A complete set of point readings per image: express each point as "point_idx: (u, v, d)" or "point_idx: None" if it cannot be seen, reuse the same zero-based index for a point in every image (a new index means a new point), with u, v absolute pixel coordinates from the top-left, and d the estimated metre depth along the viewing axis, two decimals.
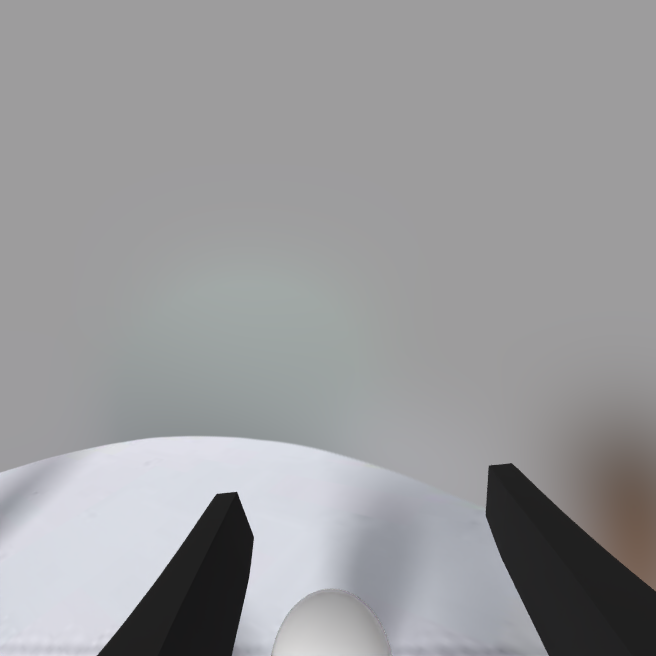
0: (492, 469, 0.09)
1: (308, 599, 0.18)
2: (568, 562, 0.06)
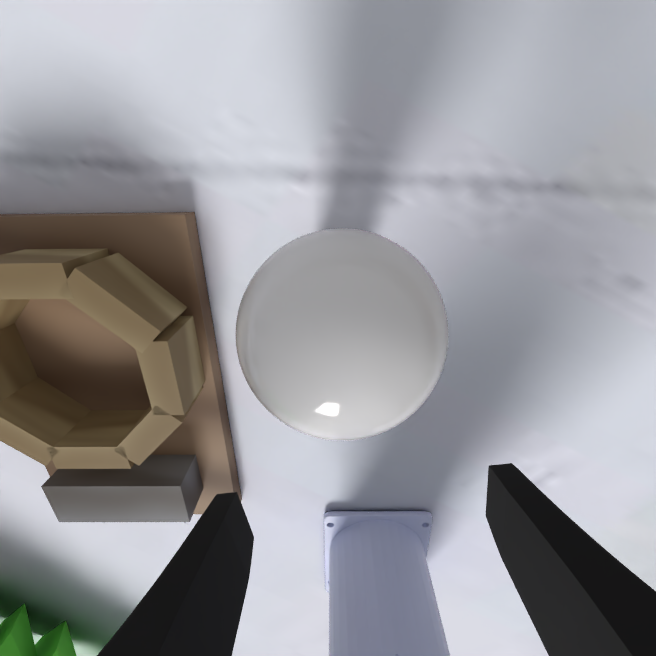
0: (492, 469, 0.09)
1: (303, 313, 0.08)
2: (568, 562, 0.06)
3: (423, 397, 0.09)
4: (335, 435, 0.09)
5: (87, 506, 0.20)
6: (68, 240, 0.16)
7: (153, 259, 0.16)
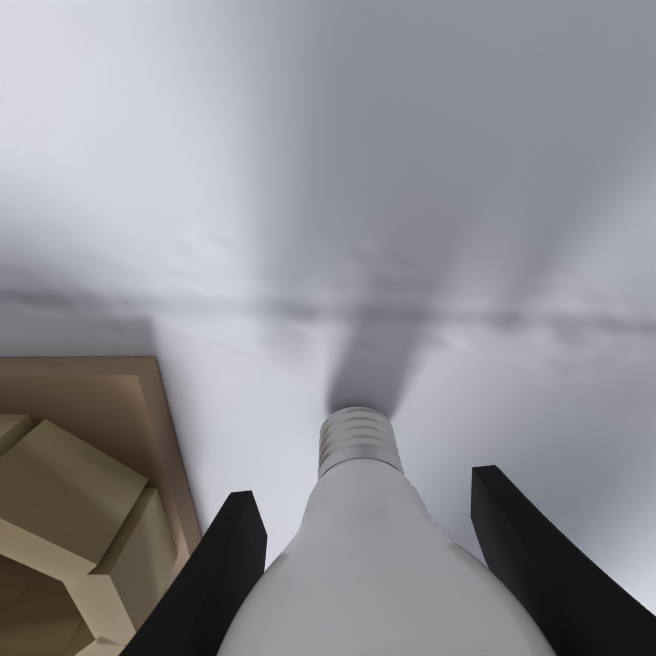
0: (475, 471, 0.09)
1: None
2: (544, 564, 0.06)
3: None
4: None
5: None
6: None
7: (96, 426, 0.11)
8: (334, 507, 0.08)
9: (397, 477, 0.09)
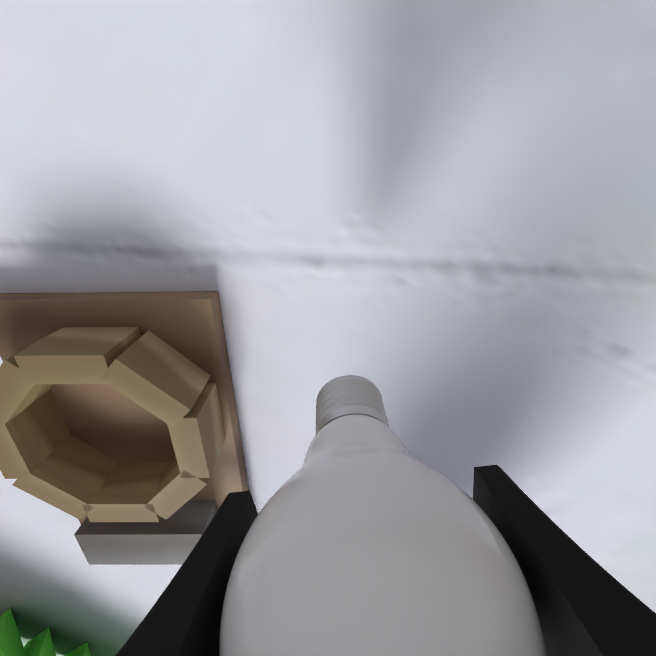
0: (477, 471, 0.09)
1: None
2: (547, 564, 0.06)
3: None
4: None
5: (116, 551, 0.21)
6: (103, 320, 0.17)
7: (180, 336, 0.18)
8: (330, 446, 0.09)
9: (384, 426, 0.10)
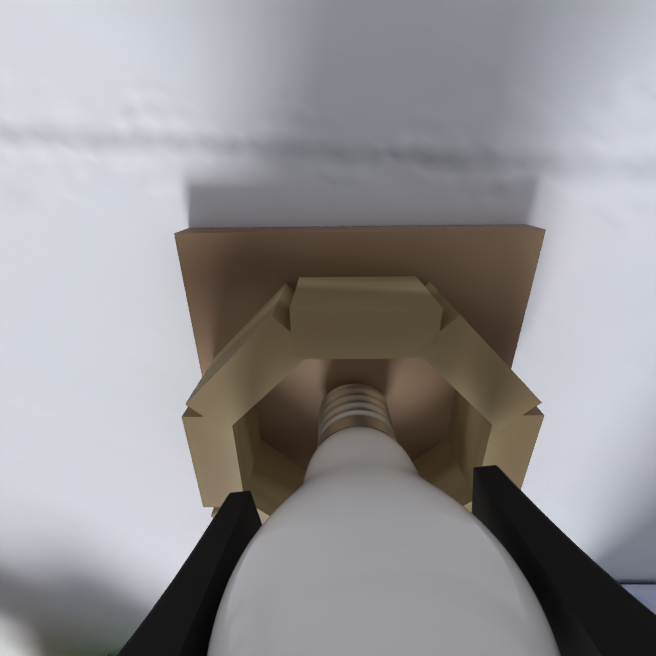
0: (476, 471, 0.09)
1: None
2: (546, 564, 0.06)
3: None
4: None
5: None
6: (365, 265, 0.11)
7: (475, 291, 0.12)
8: (333, 463, 0.08)
9: (391, 441, 0.10)
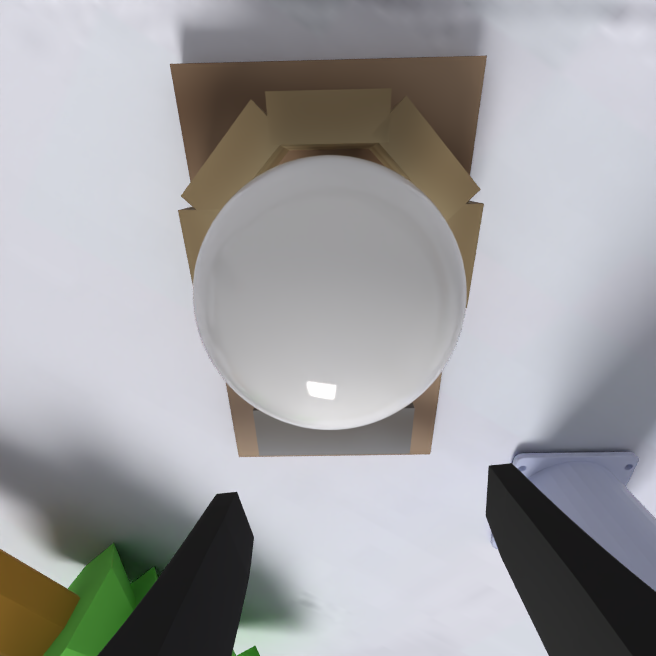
0: (492, 469, 0.09)
1: (274, 250, 0.05)
2: (568, 562, 0.06)
3: (434, 373, 0.07)
4: (318, 422, 0.07)
5: (298, 435, 0.17)
6: None
7: (430, 120, 0.14)
8: None
9: None
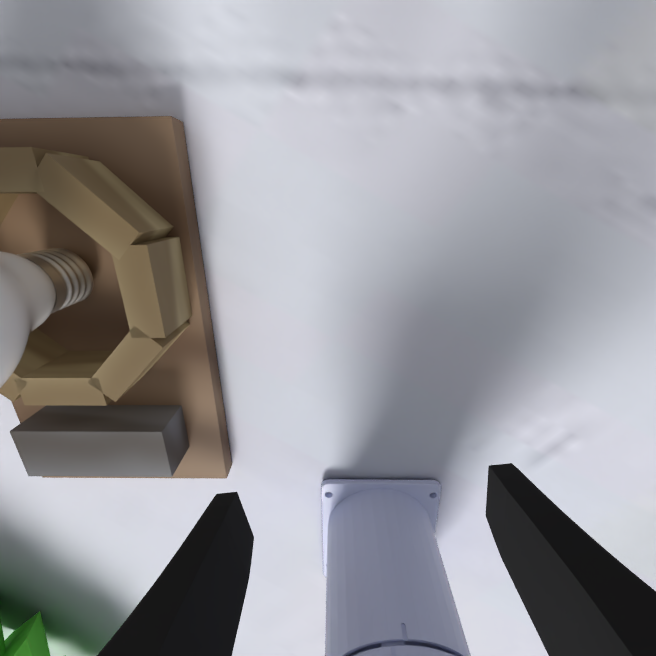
0: (492, 469, 0.09)
1: None
2: (568, 562, 0.06)
3: None
4: None
5: (59, 456, 0.18)
6: (46, 147, 0.15)
7: (137, 169, 0.15)
8: None
9: (17, 257, 0.13)
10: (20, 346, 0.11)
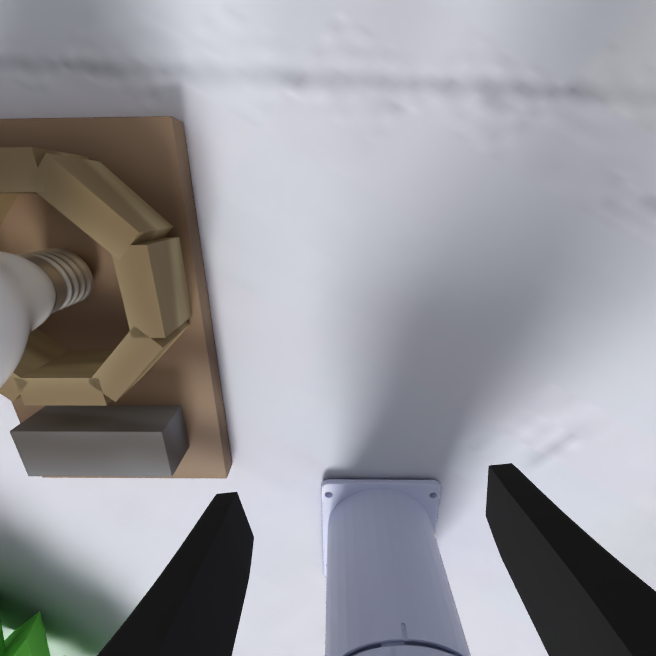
0: (492, 469, 0.09)
1: None
2: (568, 562, 0.06)
3: None
4: None
5: (59, 456, 0.18)
6: (46, 147, 0.15)
7: (137, 169, 0.15)
8: None
9: (17, 257, 0.13)
10: (20, 346, 0.11)
